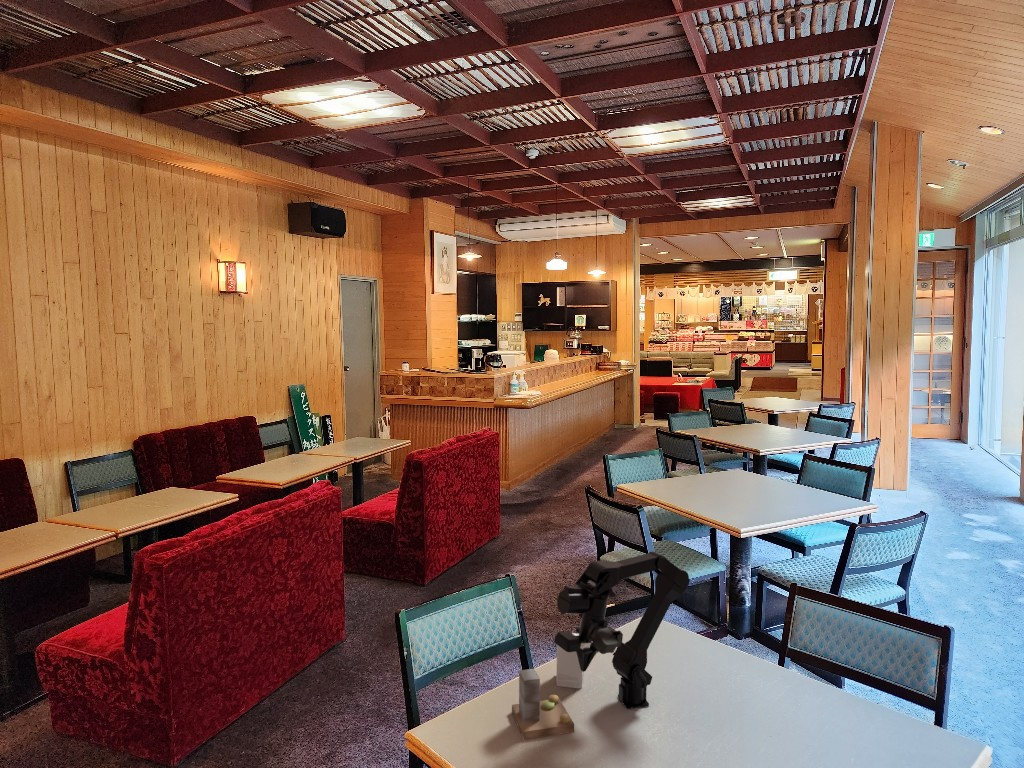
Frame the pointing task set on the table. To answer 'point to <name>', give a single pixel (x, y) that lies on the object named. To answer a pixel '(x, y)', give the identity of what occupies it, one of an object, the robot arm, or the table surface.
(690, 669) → the table surface
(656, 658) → the table surface
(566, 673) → the supplement box
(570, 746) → the table surface
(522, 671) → the wooden base with pillar
